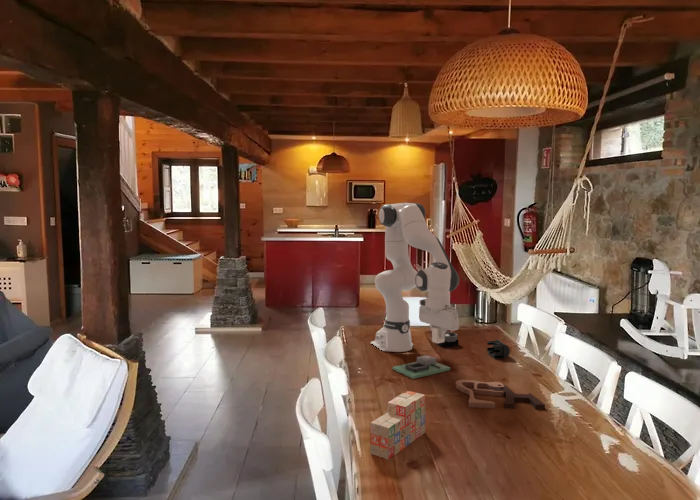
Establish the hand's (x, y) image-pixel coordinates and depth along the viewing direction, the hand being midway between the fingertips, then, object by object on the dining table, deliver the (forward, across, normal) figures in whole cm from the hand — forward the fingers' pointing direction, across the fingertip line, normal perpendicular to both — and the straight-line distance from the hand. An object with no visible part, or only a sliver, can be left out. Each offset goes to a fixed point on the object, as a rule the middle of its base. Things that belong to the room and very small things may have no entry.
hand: (438, 336), depth 209 cm
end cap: (+17, +6, -43) cm, 47 cm away
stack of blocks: (+17, -37, +49) cm, 64 cm away
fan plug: (+2, 0, 0) cm, 2 cm away
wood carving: (+17, -28, -4) cm, 33 cm away
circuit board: (+17, +10, 0) cm, 20 cm away
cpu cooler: (+18, +34, -37) cm, 53 cm away
